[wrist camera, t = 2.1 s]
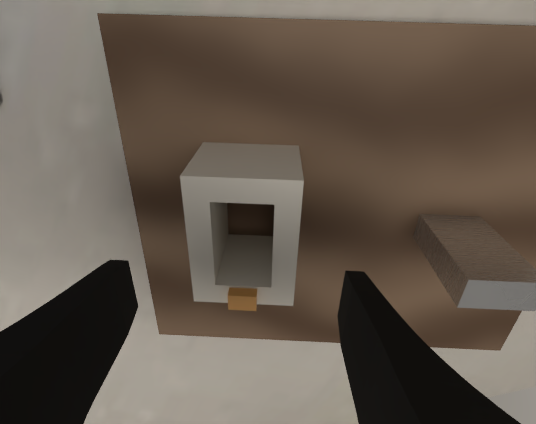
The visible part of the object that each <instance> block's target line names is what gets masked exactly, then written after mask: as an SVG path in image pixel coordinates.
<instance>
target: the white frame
mask: <svg viewBox="0 0 536 424" xmlns="http://www.w3.org/2000/svg"><path fill="white" fill-rule="evenodd" d="M180 182H181V191H182V200H183V209H184V218H185V226H186V235H187V244H188V253H189V262H190V271H191V280H192V289H193V298H194V301H197V302H219V303H228V310H244V311H256V308H257V304H262V305H284V306H293V303H294V291H295V279H296V267H297V256H298V244H299V232H300V220H301V208H302V197H303V185H304V178H303V171H302V164H301V157H300V150H299V146H297V145H269V144H241V143H214V142H203V143H202V145H201V146H200V148H199V149H198V150H197V152H196V153H195V155H194V156H193V158H192V159H191V161H190V162H189V163H188V165H187V166H186V168H185V169H184V171H183V172H182V174H181V175H180ZM227 203H246V204H271V205H274V230H273V236H258V235H234V234H228V210H227Z"/></svg>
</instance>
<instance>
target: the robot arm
mask: <svg viewBox="0 0 536 424" xmlns="http://www.w3.org/2000/svg"><path fill="white" fill-rule="evenodd" d="M137 308H138V303H137V298H136V294H135V289H134V285H133V281H132V276H131V272H130V267H129V263H128V261H124V260H109V261H107V262H106V263H104V264H103V265H101V266H100V267H98V268H97V269H95V270H94V271H92V272H91V273H90V274H88V275H87V276H85V277H84V278H82V279H81V280H80V281H78V282H77V283H75V284H74V285H72V286H71V287H69V288H68V289H67V290H65V291H64V292H62V293H61V294H59V295H58V296H56V297H55V298H53V299H52V300H50V301H49V302H47V303H46V304H44V305H43V306H41V307H40V308H38V309H36V310H35V311H33V312H32V313H30V314H29V315H27V316H25V317H24V318H22V319H21V320H19V321H18V322H16V323H14V324H13V325H11V326H9V327H8V328H6V329H4V330H2V331H1V332H0V424H83V423H84V421H85V418H86V416H87V414H88V412H89V410H90V408H91V405H92V403H93V401H94V399H95V397H96V395H97V393H98V392H99V390H100V388H101V386H102V384H103V382H104V380H105V378H106V376H107V374H108V372H109V371H110V369H111V367H112V365H113V363H114V361H115V359H116V357H117V355H118V353H119V351H120V349H121V347H122V345H123V343H124V341H125V339H126V337H127V335H128V333H129V331H130V328H131V325H132V323H133V320H134V317H135V314H136V311H137ZM337 317H338V326H339V335H340V343H341V349H342V353H343V357H344V362H345V366H346V370H347V375H348V379H349V383H350V387H351V391H352V396H353V400H354V404H355V408H356V413H357V417H358V422H359V424H521V423H519V422H518V421H516V420H515V419H514V418H512V417H511V416H510V415H508V414H507V413H506V412H504V411H503V410H502V409H501V408H499V407H498V406H496V405H495V404H494V403H493V402H492V401H490V400H489V399H488V398H487V397H485V396H484V395H483V394H482V393H480V392H479V391H478V390H477V389H475V388H474V387H473V386H472V385H471V384H469V383H468V382H467V381H466V380H465V379H464V378H462V377H461V376H460V375H459V374H458V373H457V372H456V371H455V370H453V369H452V368H451V367H450V366H449V365H448V364H447V363H446V362H445V361H444V360H442V359H441V358H440V357H439V356H438V355H437V354H436V353H435V352H434V351H433V350H432V349H431V348H430V347H429V346H428V345H427V344H426V343H425V342H424V341H423V340H422V339H421V338H420V337H419V336H418V335H417V334H416V333H415V331H414V330H413V329H412V328H411V327H410V326H409V325H408V324H407V323H406V322H405V320H404V319H403V318H402V317H401V316H400V315H399V313H398V312H397V311H396V310H395V309H394V308H393V307H392V305H391V304H390V303H389V302H388V300H387V299H386V298H385V297H384V296H383V294H382V293H381V292H380V291H379V289H378V288H377V287H376V285H375V284H374V283H373V282H372V280H371V279H370V278H369V277H368V275H367V274H366V273H365V272H364V271H345V275H344V281H343V287H342V292H341V298H340V304H339V309H338V315H337Z"/></svg>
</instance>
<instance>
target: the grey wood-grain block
mask: <svg viewBox="0 0 536 424" xmlns="http://www.w3.org/2000/svg"><path fill="white" fill-rule="evenodd" d="M413 238H414V240H415V241H416V243H417V244H418V246H419V248H420V249H421V251H422V252H423V254H424V256H425V257H426V259H427V260H428V262H429V263H430V265H431V267H432V268H433V270H434V271H435V273H436V275H437V276H438V278H439V279H440V281H441V283H442V284H443V286H444V287H445V289H446V291H447V292H448V294H449V295H450V297H451V299H452V300H453V302H454V303H455V305H456V307H457V308H477V309H499V310H521V311H535V310H536V269H535V268H534V267H533V266H532V265H531V264H530V263H529V262H528V261H527V260H526V259H525V258H523V257H522V256H521V255H520V254H519V253H518V252H517V251H516V250H515V249H514V248H513V247H512V246H511V245H510V244H509V243H508V242H507V241H506V240H504V239H503V238H502V237H501V236H500V235H499V234H498V233H497V232H496V231H495V230H494V229H493V228H492V227H491V226H490V225H489V224H488V223H487V222H486V221H484V220H483V219H482V218H481V217H480V216H461V215H436V214H419V218H418V221H417V225H416V228H415V232H414V235H413Z"/></svg>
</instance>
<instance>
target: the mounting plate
mask: <svg viewBox="0 0 536 424" xmlns="http://www.w3.org/2000/svg"><path fill="white" fill-rule="evenodd" d="M97 14H98V20H99V25H100V30H101V35H102V40H103V45H104V51H105V56H106V61H107V66H108V71H109V76H110V82H111V87H112V92H113V97H114V102H115V108H116V113H117V118H118V123H119V128H120V133H121V139H122V144H123V149H124V154H125V159H126V164H127V170H128V175H129V180H130V185H131V190H132V195H133V201H134V206H135V211H136V216H137V221H138V226H139V232H140V237H141V242H142V247H143V252H144V258H145V263H146V268H147V273H148V278H149V283H150V289H151V294H152V299H153V304H154V309H155V314H156V320H157V325H158V330H159V334H167V335H188V336H209V337H230V338H251V339H272V340H292V341H313V342H334V343H340V335H339V326H338V317H337V315H338V309H339V304H340V298H341V292H342V287H343V281H344V275H345V271H364V272H365V273H366V274H367V275H368V277H369V278H370V279H371V280H372V282H373V283H374V284H375V285H376V287H377V288H378V289H379V291H380V292H381V293H382V294H383V296H384V297H385V298H386V299H387V300H388V302H389V303H390V304H391V305H392V307H393V308H394V309H395V310H396V311H397V312H398V313H399V315H400V316H401V317H402V318H403V319H404V320H405V322H406V323H407V324H408V325H409V326H410V327H411V328H412V329H413V330H414V331H415V333H416V334H417V335H418V336H419V337H420V338H421V339H422V340H423V341H424V342H425V343H426V344H427V345H428V346H429V347H438V348H459V349H480V350H501V348H502V346H503V344H504V342H505V341H506V339H507V337H508V335H509V333H510V332H511V330H512V328H513V326H514V324H515V322H516V321H517V319H518V317H519V315H520V313H521V310H499V309H477V308H457V307H456V305H455V303H454V302H453V300H452V299H451V297H450V295H449V294H448V292H447V291H446V289H445V287H444V286H443V284H442V283H441V281H440V279H439V278H438V276H437V275H436V273H435V271H434V270H433V268H432V267H431V265H430V263H429V262H428V260H427V259H426V257H425V256H424V254H423V252H422V251H421V249H420V248H419V246H418V244H417V243H416V241H415V240H414V238H413V235H414V232H415V228H416V225H417V221H418V218H419V214H436V215H461V216H480V217H481V218H482V219H483V220H484V221H486V222H487V223H488V224H489V225H490V226H491V227H492V228H493V229H494V230H495V231H496V232H497V233H498V234H499V235H500V236H501V237H502V238H503V239H504V240H506V241H507V242H508V243H509V244H510V245H511V246H512V247H513V248H514V249H515V250H516V251H517V252H518V253H519V254H520V255H521V256H522V257H523V258H525V259H526V260H527V261H528V262H529V263H530V264H531V265H532V266H533V267H534V268H535V269H536V26H525V25H490V24H454V23H419V22H384V21H348V20H313V19H278V18H243V17H207V16H172V15H137V14H101V13H97ZM203 142H214V143H241V144H269V145H297V146H299V150H300V157H301V164H302V171H303V178H304V185H303V197H302V208H301V220H300V232H299V244H298V256H297V267H296V279H295V291H294V303H293V306H284V305H262V304H257V308H256V311H244V310H228V303H219V302H197V301H194V298H193V289H192V280H191V271H190V262H189V253H188V244H187V235H186V226H185V218H184V209H183V200H182V191H181V182H180V175H181V174H182V172H183V171H184V169H185V168H186V166H187V165H188V163H189V162H190V161H191V159H192V158H193V156H194V155H195V153H196V152H197V150H198V149H199V148H200V146H201V145H202V143H203ZM227 210H228V234H234V235H258V236H273V230H274V205H271V204H246V203H227Z"/></svg>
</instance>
